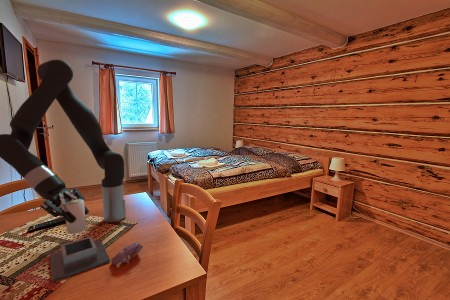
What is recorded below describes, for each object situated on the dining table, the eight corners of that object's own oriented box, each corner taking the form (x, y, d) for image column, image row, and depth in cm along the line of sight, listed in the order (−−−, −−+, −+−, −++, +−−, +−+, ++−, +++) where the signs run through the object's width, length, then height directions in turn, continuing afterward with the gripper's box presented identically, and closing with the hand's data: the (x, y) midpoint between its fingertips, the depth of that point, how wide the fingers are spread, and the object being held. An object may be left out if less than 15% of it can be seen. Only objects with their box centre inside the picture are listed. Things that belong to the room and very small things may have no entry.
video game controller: (116, 272, 76) (121, 258, 73) (109, 262, 78) (113, 248, 75) (141, 256, 84) (146, 244, 82) (133, 248, 86) (138, 235, 84)
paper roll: (84, 224, 82) (82, 197, 80) (87, 230, 78) (85, 202, 76) (66, 229, 78) (63, 201, 77) (67, 235, 74) (65, 206, 73)
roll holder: (100, 241, 91) (99, 230, 90) (110, 261, 79) (109, 248, 78) (50, 257, 81) (48, 244, 80) (52, 282, 69) (51, 267, 68)
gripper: (31, 180, 69) (71, 220, 69) (68, 169, 83) (101, 202, 84) (17, 196, 70) (57, 234, 71) (56, 183, 84) (88, 215, 85)
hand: (80, 217), depth 77 cm, fingers closed on paper roll, 5 cm apart
